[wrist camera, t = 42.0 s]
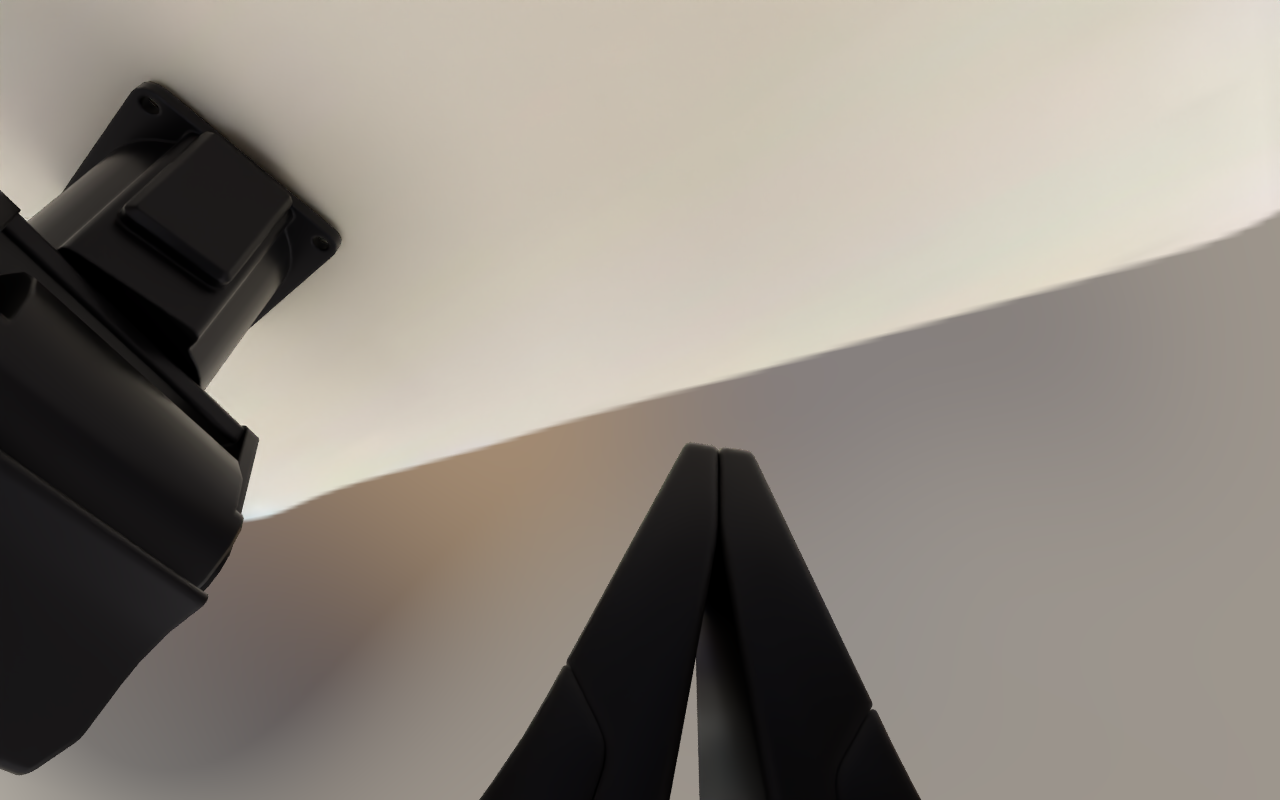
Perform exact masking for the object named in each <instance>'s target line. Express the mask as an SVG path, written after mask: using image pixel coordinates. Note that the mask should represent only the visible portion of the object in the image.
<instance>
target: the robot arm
mask: <svg viewBox="0 0 1280 800" xmlns="http://www.w3.org/2000/svg"><path fill="white" fill-rule="evenodd" d="M148 97H149V98H150V99H152V100H154V101H155V102H156V104H157V105H158V107H159V108H158V107H156V106H155V105H153V104H152V103H151V102H150V100H149V98H148ZM20 211H21V210H20V209H19V208H18V207H17V206H16V205H15V204H14V203H13V202H12V201H11V200H10V199H9V198H8V197H7V196H6V195H5V194H4V193H3V192H2V191H1V190H0V769H2V770H5V771H8V772H10V773H13V774H15V775H23V774H27V773H30V772H32V771H34V770H35V769H37V768H39V767H40V766H42V765H43V764H45V763H46V762H47V761H49V760H50V759H52V758H53V757H55V756H56V755H58V754H59V753H61V752H62V751H64V750H65V749H66V748H68V747H69V746H71V745H72V744H74V743H75V742H76V741H78V740H79V739H80V738H81V737H82V736H83V735H84V733H85V732H86V731H87V730H88V728H89V727H90V726H91V724H92V723H93V722H94V720H95V719H96V718H97V716H98V715H99V714H100V712H101V711H102V710H103V708H104V707H105V706H106V704H107V703H108V702H109V700H110V699H111V698H112V696H113V695H114V694H115V692H116V691H117V690H118V688H119V687H120V685H121V684H122V683H123V682H124V680H125V679H126V678H127V677H128V676H129V675H130V673H131V672H132V671H133V669H134V668H135V667H136V666H137V665H138V663H139V662H140V661H141V660H142V659H143V658H144V657H145V656H146V655H147V654H148V653H149V652H150V651H151V650H152V649H153V648H154V647H155V646H156V645H157V644H158V643H159V642H160V641H161V640H162V639H163V638H164V637H165V636H166V635H167V634H168V633H169V632H170V631H171V630H173V629H174V628H175V627H177V626H178V625H179V624H180V623H182V622H183V621H184V620H186V619H187V618H188V617H189V616H190V615H192V614H193V613H195V612H196V611H197V610H198V609H200V608H201V607H202V606H203V605H204V604H205V603H206V601H207V599H208V594H206V593H205V592H204V590H205V589H206V588H207V587H208V586H209V585H210V584H211V582H212V581H213V580H214V578H215V577H216V576H217V575H218V573H219V572H220V570H221V569H222V567H223V565H224V564H225V562H226V560H227V558H228V557H229V555H230V552H231V549H232V547H233V544H234V542H235V540H236V538H237V536H238V534H239V533H240V531H241V528H242V524H243V519H244V518H243V516H242V514H241V512H242V508H243V504H244V500H245V496H246V492H247V487H248V483H249V479H250V475H251V471H252V467H253V463H254V459H255V454H256V450H257V446H258V442H259V438H258V437H257V436H256V435H255V434H254V433H253V432H252V431H251V430H250V429H249V428H248V427H246V426H241V425H240V424H239V423H238V422H237V421H236V420H235V419H233V418H232V417H231V416H230V415H229V414H228V413H227V412H226V411H225V410H224V409H223V408H222V407H221V406H220V405H219V404H218V403H217V402H216V401H215V400H214V399H213V398H211V397H210V396H209V395H208V394H207V393H206V392H205V391H204V390H205V389H206V387H207V386H208V385H209V383H210V382H211V380H212V379H213V378H214V376H215V375H216V373H217V372H218V371H219V369H220V368H221V367H222V365H223V364H224V362H225V361H226V360H227V358H228V357H229V355H230V354H231V353H232V351H233V350H234V348H235V347H236V346H237V344H238V343H239V342H240V340H241V339H242V337H243V336H244V335H245V333H246V332H247V330H248V329H249V328H250V327H252V326H253V325H254V324H255V323H256V322H257V321H258V320H260V319H261V318H262V317H263V316H264V315H265V314H267V313H268V312H269V311H270V310H271V309H272V308H273V307H275V306H276V305H277V304H278V303H279V302H280V301H281V300H283V299H284V298H285V297H286V296H287V295H288V294H289V293H291V292H292V291H293V290H294V289H295V288H296V287H297V286H299V285H300V284H301V283H302V282H303V281H304V280H306V279H307V278H308V277H309V276H310V275H311V274H312V273H314V272H315V271H316V270H317V269H318V268H319V267H320V266H322V265H323V264H324V263H325V262H326V261H327V260H328V259H330V258H331V257H332V256H333V255H334V254H335V252H336V251H337V249H338V248H339V246H340V245H341V237H340V235H339V233H338V232H337V231H336V230H335V229H334V228H333V227H332V226H331V225H329V224H328V223H327V222H326V221H325V220H323V219H322V218H321V217H320V216H318V215H317V214H316V213H315V212H314V211H312V210H311V209H310V208H309V207H308V206H306V205H305V204H304V203H303V202H302V201H300V200H299V199H298V198H297V197H296V196H294V195H293V194H292V193H291V192H289V191H288V190H287V189H286V188H285V187H283V186H282V185H281V184H280V183H279V182H277V181H276V180H275V179H274V178H273V177H271V176H270V175H269V174H268V173H267V172H265V171H264V170H263V169H262V168H260V167H259V166H258V165H257V164H256V163H254V162H253V161H252V160H251V159H250V158H248V157H247V156H246V155H245V154H244V153H242V152H241V151H240V150H239V149H238V148H236V147H235V146H234V145H233V144H231V143H230V142H229V141H228V140H227V139H225V138H224V137H223V136H222V135H221V134H219V133H218V132H217V131H216V130H215V129H213V128H212V127H211V126H210V125H209V124H207V123H206V122H205V121H204V120H202V119H201V118H200V117H199V116H198V115H196V114H195V113H194V112H193V111H192V110H190V109H189V108H188V107H187V106H186V105H184V104H183V103H182V102H181V101H180V100H178V99H177V98H176V97H175V96H173V95H172V94H171V93H170V92H169V91H167V90H166V89H165V88H163V87H162V86H160V85H159V84H156V83H153V82H144V83H142V84H141V85H140V86H138V87H137V88H136V89H134V90H133V91H132V92H131V93H130V95H129V96H128V97H127V99H126V100H125V102H124V103H123V105H122V106H121V108H120V109H119V111H118V112H117V113H116V115H115V116H114V118H113V119H112V121H111V122H110V124H109V125H108V127H107V128H106V129H105V131H104V132H103V134H102V135H101V137H100V138H99V140H98V141H97V143H96V144H95V145H94V147H93V148H92V150H91V151H90V153H89V154H88V156H87V157H86V159H85V160H84V161H83V163H82V164H81V166H80V167H79V169H78V170H77V172H76V173H75V175H74V176H73V177H72V179H71V180H70V182H69V183H68V185H67V186H66V188H65V189H64V191H63V192H62V193H61V194H60V195H59V196H58V197H57V198H55V199H54V200H53V201H52V202H50V203H49V204H48V205H47V206H46V207H44V208H43V209H42V210H41V211H39V212H38V213H37V214H36V215H35V216H33V217H32V218H31V219H30V220H28V221H26V220H25V219H24V218H23V217H22V216H21V215H20V214H18V213H19V212H20ZM319 237H321V238H323V239H325V240H326V241H327V242H328V243H325V242H323V241H321V240H320V239H319ZM695 659H696V677H697V712H698V713H697V717H698V755H699V793H700V794H699V795H700V800H921V799H920V797H919V795H918V793H917V791H916V789H915V787H914V786H913V784H912V782H911V780H910V778H909V776H908V774H907V772H906V770H905V768H904V766H903V764H902V762H901V760H900V758H899V756H898V754H897V752H896V750H895V749H894V746H893V744H892V742H891V740H890V738H889V736H888V734H887V732H886V730H885V728H884V726H883V724H882V721H881V719H880V717H879V715H878V713H877V711H876V710H873V709H872V710H870V709H871V707H872V701H871V699H870V697H869V695H868V693H867V691H866V689H865V687H864V684H863V682H862V680H861V678H860V676H859V674H858V672H857V670H856V668H855V666H854V664H853V662H852V659H851V658H850V656H849V653H848V651H847V649H846V647H845V645H844V643H843V641H842V638H841V636H840V635H839V632H838V630H837V628H836V626H835V624H834V622H833V620H832V618H831V615H830V613H829V611H828V609H827V607H826V605H825V603H824V601H823V599H822V597H821V595H820V593H819V590H818V588H817V586H816V584H815V582H814V580H813V578H812V576H811V574H810V572H809V570H808V567H807V565H806V563H805V561H804V559H803V557H802V555H801V553H800V551H799V549H798V547H797V545H796V543H795V540H794V538H793V536H792V534H791V532H790V530H789V528H788V526H787V524H786V521H785V519H784V517H783V515H782V513H781V511H780V509H779V507H778V505H777V503H776V501H775V498H774V496H773V495H772V492H771V490H770V488H769V486H768V484H767V482H766V480H765V478H764V475H763V473H762V471H761V469H760V467H759V465H758V463H757V461H756V459H755V457H754V455H753V454H752V453H751V452H749V451H747V450H741V449H734V448H727V447H723V448H720V449H719V450H717V448H716V447H715V446H713V445H706V444H699V443H691V442H690V443H687V444H686V445H685V446H684V447H683V449H682V451H681V453H680V454H679V456H678V458H677V460H676V462H675V463H674V465H673V467H672V469H671V471H670V473H669V474H668V476H667V478H666V480H665V482H664V484H663V485H662V487H661V489H660V491H659V493H658V495H657V496H656V498H655V500H654V502H653V504H652V506H651V507H650V509H649V511H648V513H647V515H646V516H645V518H644V520H643V522H642V524H641V526H640V527H639V529H638V531H637V533H636V535H635V537H634V538H633V540H632V542H631V544H630V546H629V548H628V549H627V551H626V553H625V555H624V557H623V559H622V560H621V562H620V564H619V566H618V568H617V570H616V571H615V573H614V575H613V577H612V579H611V580H610V582H609V584H608V586H607V588H606V590H605V592H604V594H603V595H602V597H601V599H600V601H599V603H598V604H597V606H596V608H595V610H594V612H593V614H592V615H591V617H590V619H589V621H588V623H587V624H586V626H585V628H584V630H583V632H582V634H581V635H580V637H579V639H578V641H577V643H576V645H575V646H574V648H573V650H572V652H571V654H570V655H569V657H568V659H567V665H566V666H563V668H562V669H561V671H560V673H559V675H558V677H557V679H556V680H555V682H554V684H553V686H552V688H551V689H550V691H549V693H548V695H547V697H546V698H545V700H544V702H543V703H542V705H541V707H540V709H539V710H538V712H537V714H536V715H535V717H534V719H533V721H532V722H531V724H530V726H529V727H528V729H527V731H526V732H525V734H524V736H523V737H522V739H521V740H520V742H519V743H518V745H517V746H516V748H515V749H514V751H513V752H512V753H511V755H510V757H509V758H508V759H507V761H506V762H505V764H504V766H503V767H502V768H501V770H500V772H499V773H498V774H497V776H496V777H495V779H494V780H493V782H492V783H491V785H490V786H489V787H488V789H487V790H486V791H485V793H484V794H483V796H482V797H481V798H480V800H670V794H671V789H672V784H673V778H674V773H675V767H676V762H677V757H678V751H679V746H680V740H681V735H682V729H683V724H684V719H685V713H686V708H687V702H688V697H689V692H690V686H691V681H692V675H693V669H694V665H695Z"/></svg>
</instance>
